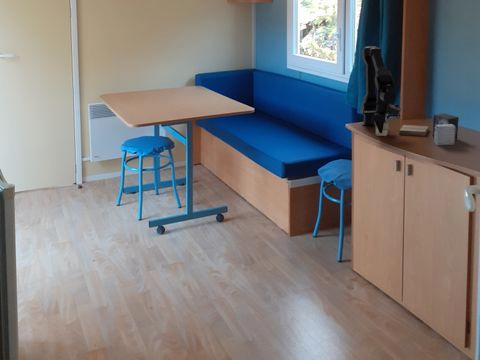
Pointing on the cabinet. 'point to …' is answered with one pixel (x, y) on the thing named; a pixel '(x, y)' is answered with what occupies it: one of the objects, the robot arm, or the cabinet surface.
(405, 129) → the beige flat square slab
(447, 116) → the small box
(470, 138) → the cabinet surface
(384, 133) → the maple cube
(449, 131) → the medicine box
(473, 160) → the cabinet surface
